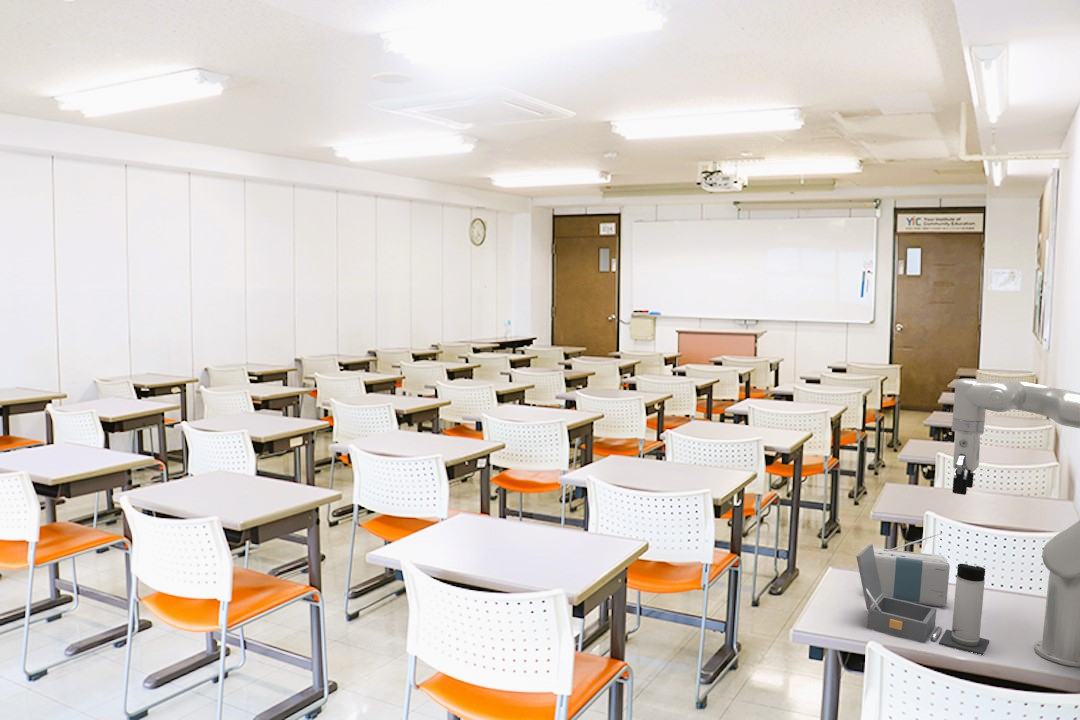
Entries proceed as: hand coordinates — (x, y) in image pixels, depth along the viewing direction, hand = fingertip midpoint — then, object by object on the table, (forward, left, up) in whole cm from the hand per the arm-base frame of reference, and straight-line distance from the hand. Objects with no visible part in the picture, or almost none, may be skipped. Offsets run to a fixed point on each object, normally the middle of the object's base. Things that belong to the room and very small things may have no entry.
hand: (962, 490), depth 223 cm
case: (+12, +12, -36) cm, 40 cm away
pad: (-5, +12, -36) cm, 39 cm away
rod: (+2, +12, -36) cm, 38 cm away
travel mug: (-5, +12, -36) cm, 38 cm away
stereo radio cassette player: (+14, -10, -37) cm, 40 cm away
